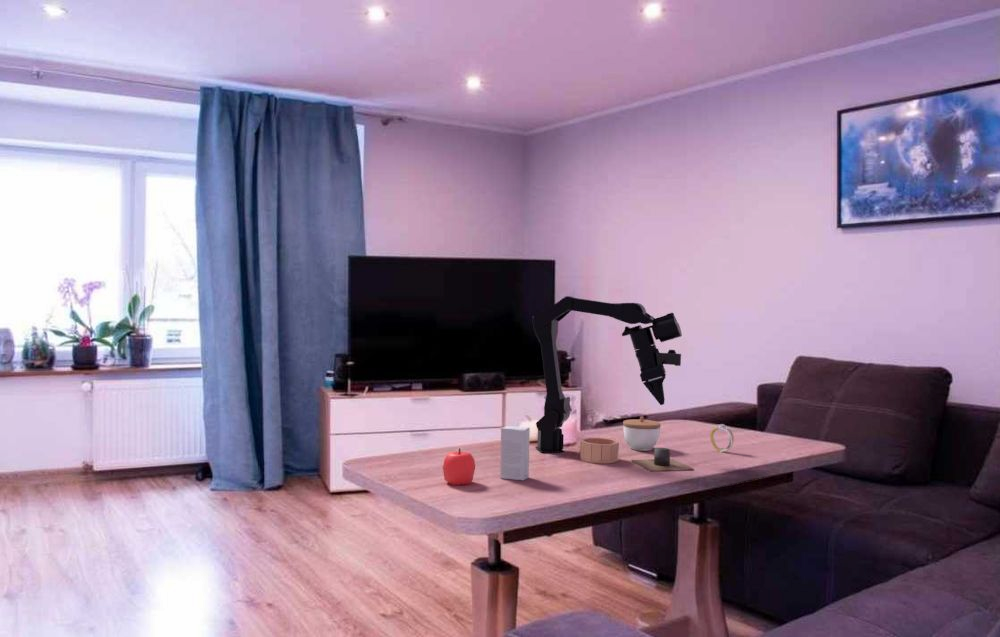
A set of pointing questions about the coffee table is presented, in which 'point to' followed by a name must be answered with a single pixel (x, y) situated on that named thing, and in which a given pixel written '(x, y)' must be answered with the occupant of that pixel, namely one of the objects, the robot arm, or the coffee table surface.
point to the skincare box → (514, 453)
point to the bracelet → (731, 437)
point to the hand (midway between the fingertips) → (662, 403)
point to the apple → (459, 467)
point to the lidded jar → (641, 433)
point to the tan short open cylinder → (599, 450)
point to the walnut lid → (662, 462)
